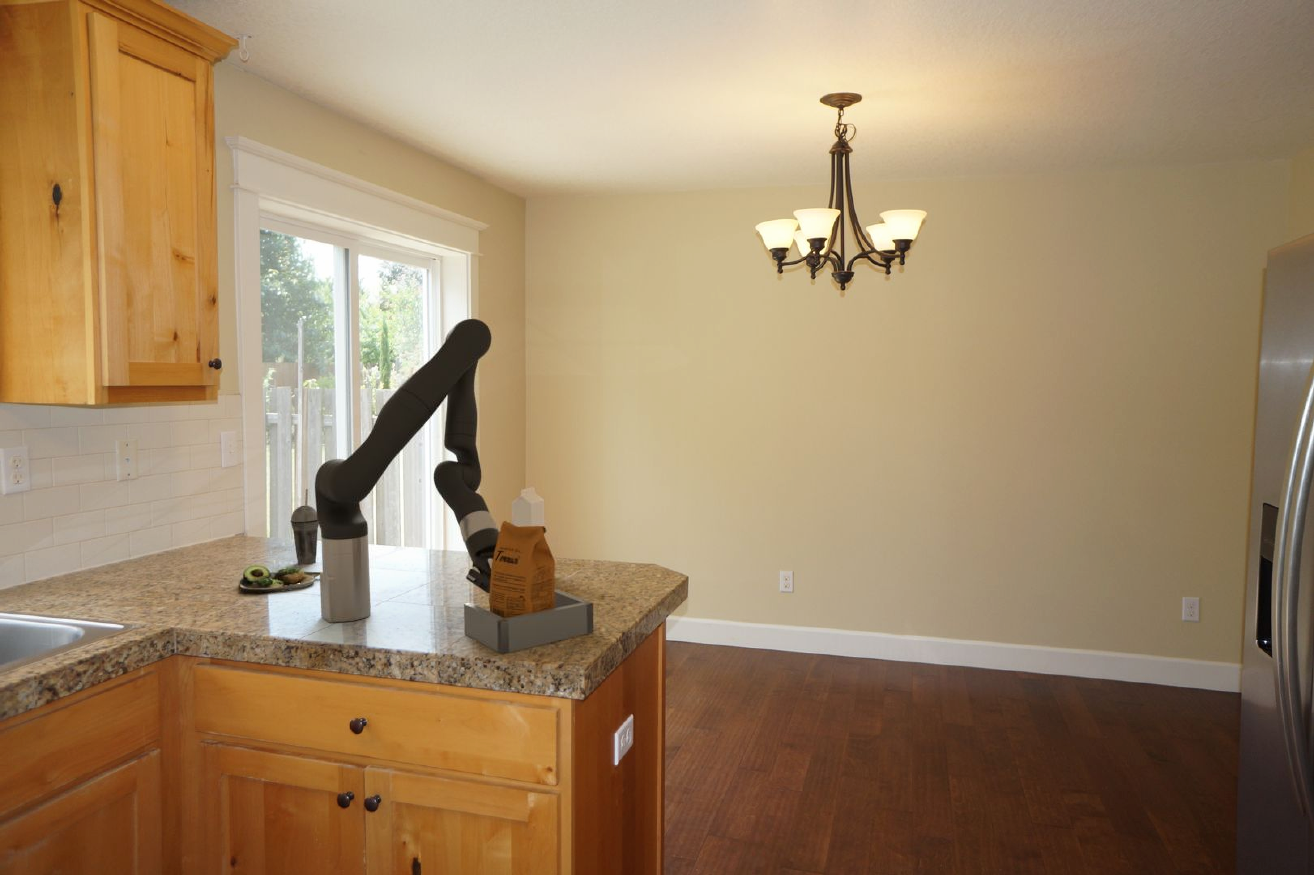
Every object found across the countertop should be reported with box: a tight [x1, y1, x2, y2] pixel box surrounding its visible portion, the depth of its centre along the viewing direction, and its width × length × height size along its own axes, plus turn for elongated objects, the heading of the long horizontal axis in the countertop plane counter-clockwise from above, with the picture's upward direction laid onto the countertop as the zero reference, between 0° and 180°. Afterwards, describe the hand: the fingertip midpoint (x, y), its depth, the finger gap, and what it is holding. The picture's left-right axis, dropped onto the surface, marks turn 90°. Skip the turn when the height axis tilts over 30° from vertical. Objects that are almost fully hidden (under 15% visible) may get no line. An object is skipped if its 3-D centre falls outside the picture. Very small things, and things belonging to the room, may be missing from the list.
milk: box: [510, 486, 546, 537], centre depth 215 cm, size 6×6×22 cm
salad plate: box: [238, 564, 321, 595], centre depth 209 cm, size 19×18×5 cm
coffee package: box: [488, 520, 556, 618], centre depth 166 cm, size 10×12×22 cm
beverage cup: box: [290, 488, 320, 565], centre depth 231 cm, size 7×7×20 cm
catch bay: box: [463, 588, 594, 655], centre depth 168 cm, size 20×16×6 cm
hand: (510, 606), depth 173 cm, fingers closed
